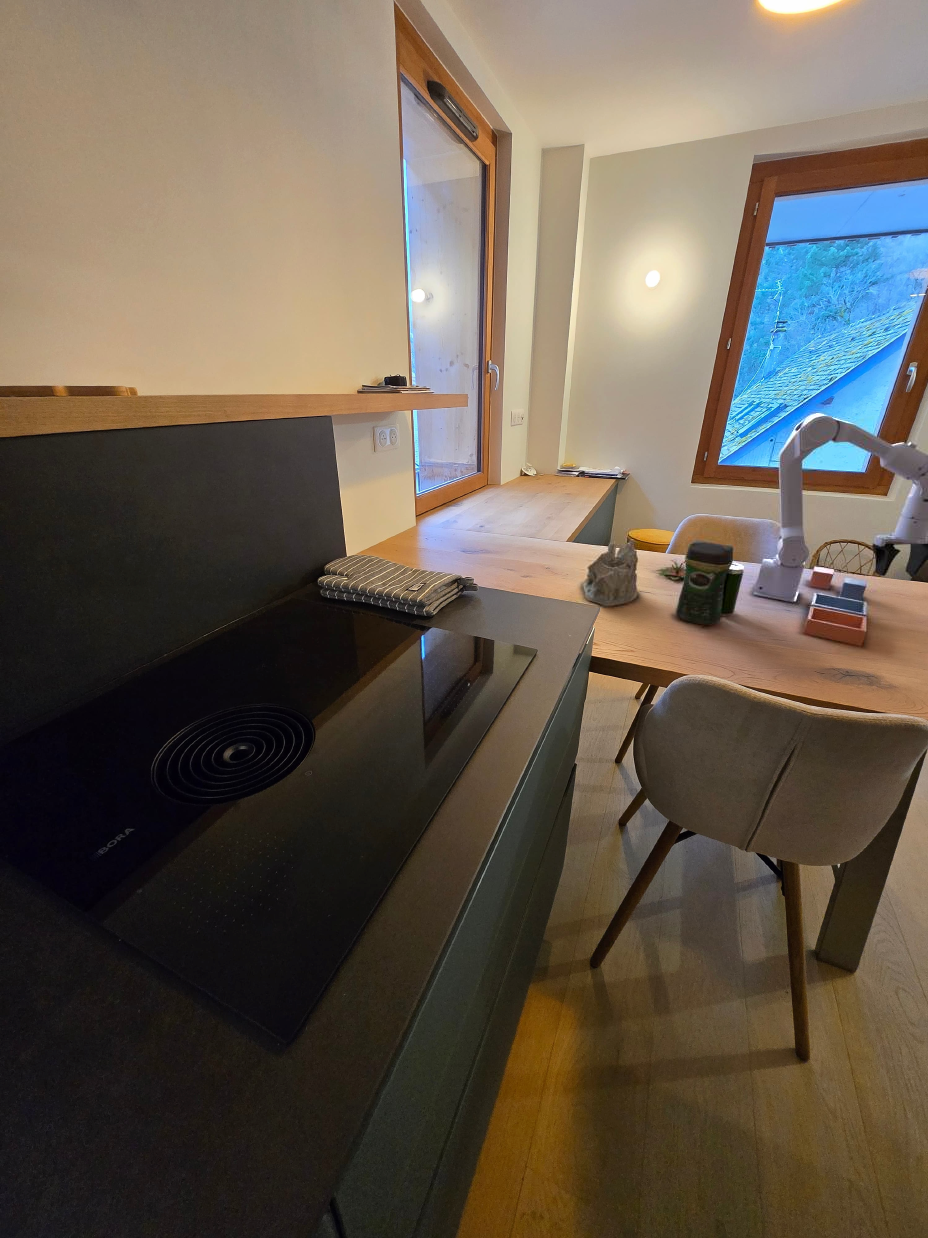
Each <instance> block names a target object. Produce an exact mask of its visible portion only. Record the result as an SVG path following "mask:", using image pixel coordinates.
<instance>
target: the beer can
mask: <svg viewBox="0 0 928 1238" xmlns="http://www.w3.org/2000/svg"><path fill="white" fill-rule="evenodd" d="M743 575H744V566H743V565H742V564H739V563H736V562H732V565H731V567H730V568H729V570H728V571H727V574H726V578H725V582H724V590H723V600H722V610H721V616H720V617H730V616H732V615H733V614H734V612H735V609H736V605H737V601H738V597H739V593H740V588H741V585H742V579H743Z"/></svg>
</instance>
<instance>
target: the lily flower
mask: <svg viewBox="0 0 928 1238" xmlns="http://www.w3.org/2000/svg"><path fill="white" fill-rule="evenodd" d="M674 560H675V561H674ZM674 560H673V559H671V560H670V561H671V562H673V563H674V564H671V566H668V567H664V568H660V569H655V571H657V572H660V574H659V577H661V576H667V575H668V577H669V578H670V579H671V580H672V581H674V580H678V579H682V578H683V579H684V578H685V572H686V565H685V560H684V561H683V562H681V563H680V561H679V562H678V561H677V559H676V558H674Z"/></svg>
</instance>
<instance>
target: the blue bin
mask: <svg viewBox="0 0 928 1238" xmlns="http://www.w3.org/2000/svg"><path fill="white" fill-rule="evenodd" d="M811 606H812V607H818V608H823V609H828V610H833V611H838V612H843V613H848V614H853V615H859V616H863V617H867V615H868V602H867V601H864V600H863V601H862V600H861V601H858V600H852V599H847V598H841V597H839V596H837V595H829V594H826V593H825V594H824V593H819V592H814V593H813V597H812V600H811V603H810V606H809V610H808V612H809V611H810V608H811ZM808 615H809V613H808V614H807V616H808Z"/></svg>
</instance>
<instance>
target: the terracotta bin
mask: <svg viewBox="0 0 928 1238" xmlns="http://www.w3.org/2000/svg"><path fill="white" fill-rule="evenodd" d="M810 606H811V605H810ZM809 610H810V611H809ZM809 610H808V614H809V615H808V614H807V617H806V622H805V625H804V629H803V634H805V635H809V636H814V637H818V638H823V639H828V640H832V641H837V642H841V643H844V644H845V643H846V644H849V645H854V646H858V647H859V646H860V647H861V646H862V644H863V641H864V639H865V636H866V634H867V623H868V622H867V619H868V617H867V616H866V617H863V616H859V615H853V614H848V613H843V612H838V611H833V610H828V609H823V608H818V607H812V606H811V608H810V607H809Z"/></svg>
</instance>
